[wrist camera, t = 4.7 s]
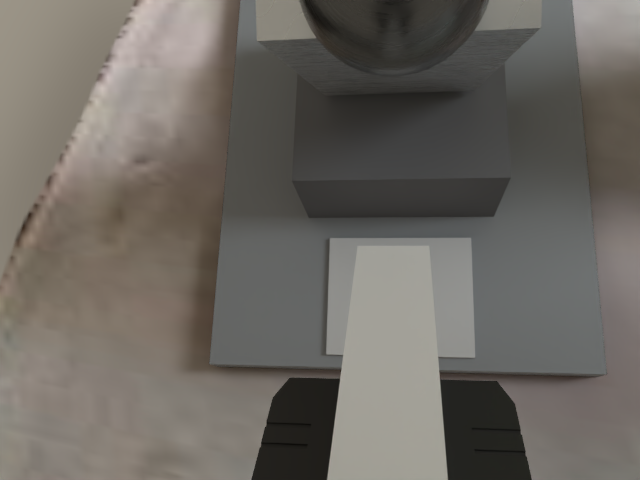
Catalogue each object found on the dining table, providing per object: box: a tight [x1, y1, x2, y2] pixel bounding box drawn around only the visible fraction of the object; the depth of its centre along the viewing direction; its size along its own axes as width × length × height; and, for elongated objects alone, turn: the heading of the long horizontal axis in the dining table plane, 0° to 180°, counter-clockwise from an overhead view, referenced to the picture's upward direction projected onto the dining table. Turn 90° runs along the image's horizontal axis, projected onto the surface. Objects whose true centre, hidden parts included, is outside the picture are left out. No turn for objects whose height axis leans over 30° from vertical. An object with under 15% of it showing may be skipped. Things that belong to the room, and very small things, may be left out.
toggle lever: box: [256, 0, 542, 96], centre depth 16 cm, size 4×6×14 cm, turn 89°
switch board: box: [209, 0, 607, 377], centre depth 26 cm, size 22×16×6 cm
